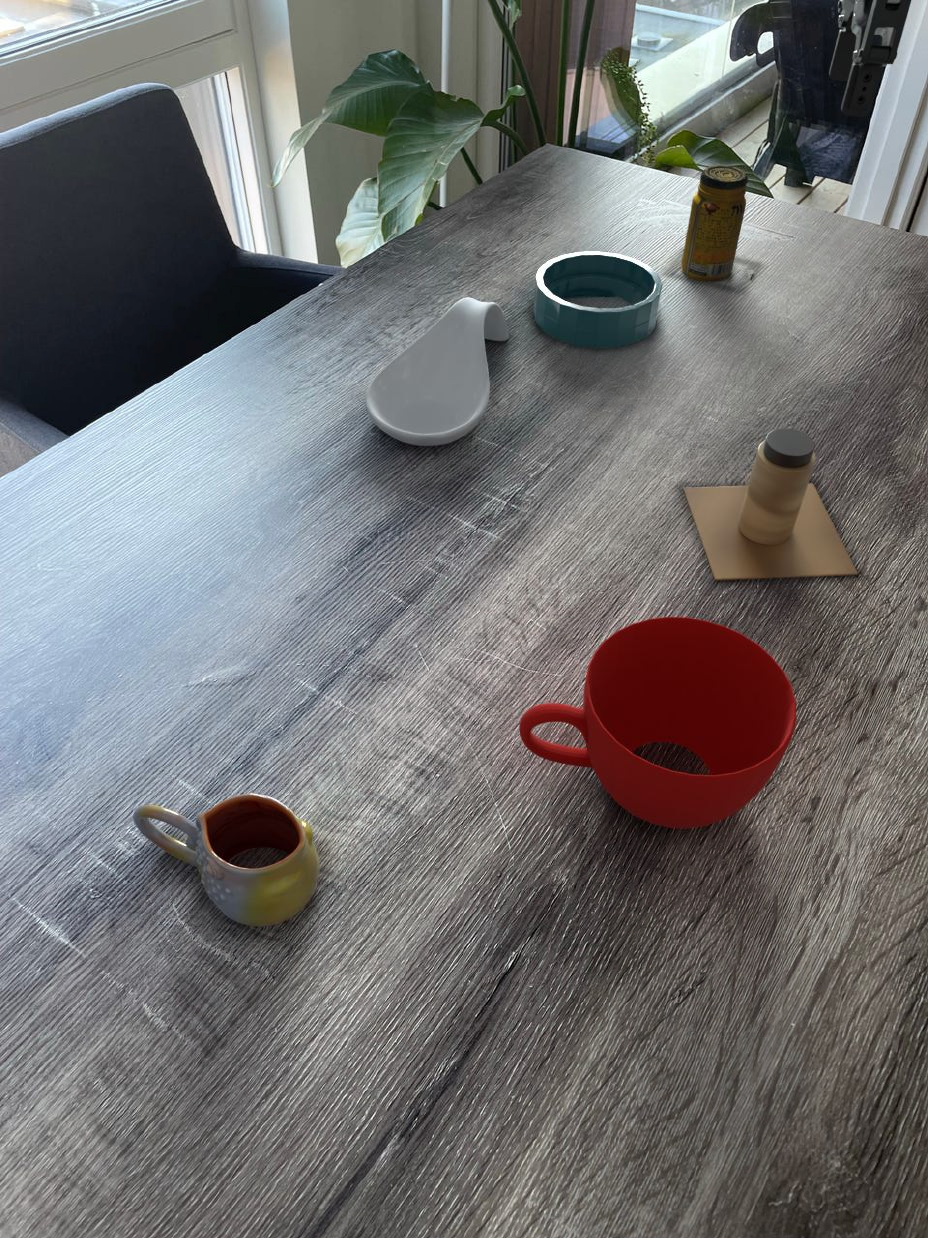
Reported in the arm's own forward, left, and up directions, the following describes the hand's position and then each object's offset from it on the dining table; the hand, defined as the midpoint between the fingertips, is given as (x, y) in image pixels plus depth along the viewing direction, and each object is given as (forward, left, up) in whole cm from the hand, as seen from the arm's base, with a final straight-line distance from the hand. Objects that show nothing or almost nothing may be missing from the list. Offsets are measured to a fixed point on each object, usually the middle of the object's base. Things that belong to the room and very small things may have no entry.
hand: (847, 96), depth 83 cm
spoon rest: (+33, 0, -28) cm, 44 cm away
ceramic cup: (+23, +48, -28) cm, 60 cm away
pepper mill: (+7, +23, -27) cm, 36 cm away
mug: (+50, +53, -28) cm, 78 cm away
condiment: (0, -24, -28) cm, 37 cm away
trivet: (+7, +23, -28) cm, 37 cm away
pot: (+16, -14, -28) cm, 35 cm away
